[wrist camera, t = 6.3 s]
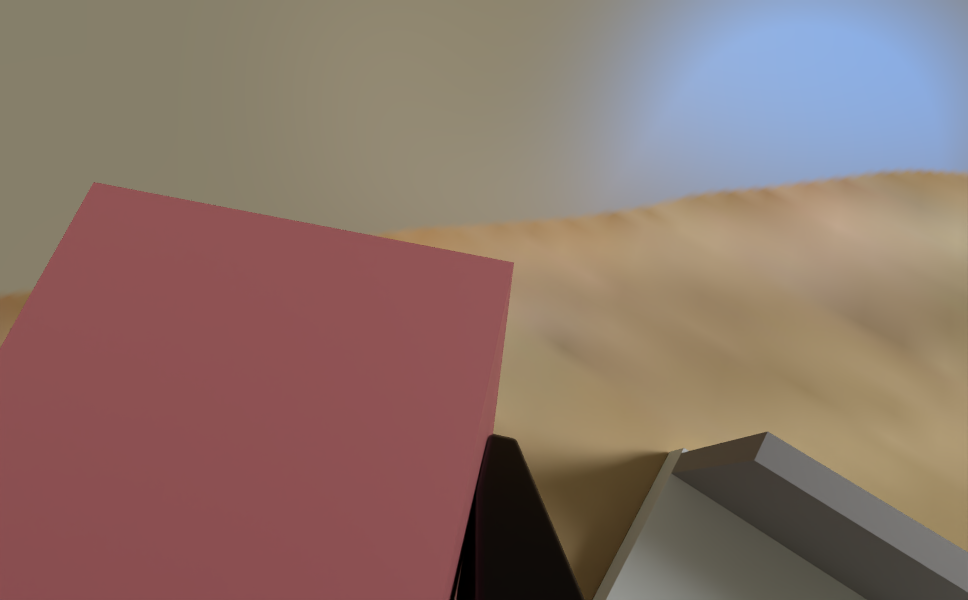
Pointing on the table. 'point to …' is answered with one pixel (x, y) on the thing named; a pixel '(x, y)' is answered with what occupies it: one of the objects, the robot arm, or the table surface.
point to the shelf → (775, 534)
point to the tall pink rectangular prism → (244, 409)
